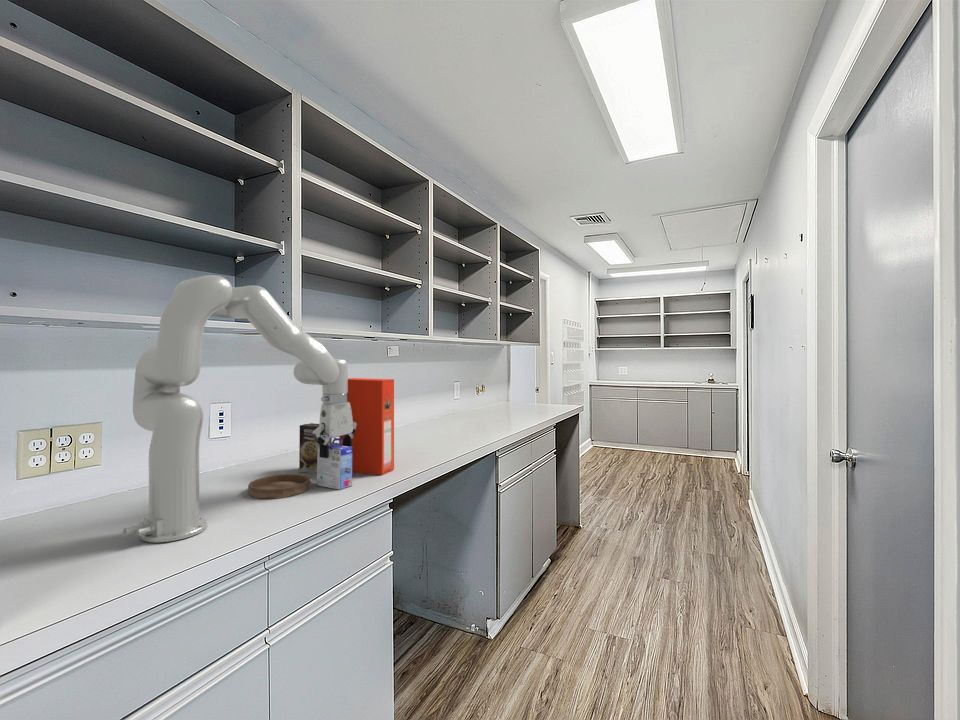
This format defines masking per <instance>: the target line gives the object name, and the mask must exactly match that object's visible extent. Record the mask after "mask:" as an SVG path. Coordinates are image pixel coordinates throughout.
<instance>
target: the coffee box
mask: <svg viewBox="0 0 960 720" xmlns="http://www.w3.org/2000/svg"><path fill="white" fill-rule="evenodd" d="M318 427H319V423H312V422H311V423H303V424H300V425H299V443H298V444H299V448H298V449H299V451H298V453H299V456H298V458H299V462H298V463H299V467H298V470H299V472H301V473H309V474H316V475H317V457H318V447H319V444H318V443H317V442H316V440H315V438H314V436H313V431H314V430H315V429H316V428H318ZM320 436H321V435H320ZM324 440H325V438H324ZM332 441H333V438H331V437H330V439H329V441H328V443H327V445H331V444H332Z"/></svg>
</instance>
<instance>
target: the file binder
mask: <svg viewBox="0 0 960 720" xmlns="http://www.w3.org/2000/svg"><path fill="white" fill-rule="evenodd" d="M348 402H350V405H351V410H352V418H353V422H355V423H357V426H356V429H355V433H354V434H353V438H351V439H352V473H359V474H366V475H374V476H375V475H376V476H384V475H386V474H388V473H390V472H393V471H394V470H395V379H394V378H393V379H391V378H365V377H364V378H362V377H361V378H360V377H359V378H357V377H349V378H348ZM338 438H340V439H343V438H345V437H344V436H339V437H338ZM338 442H339V443H340V441H338ZM341 446H343V440H342V443H341Z"/></svg>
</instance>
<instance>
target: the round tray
mask: <svg viewBox="0 0 960 720" xmlns="http://www.w3.org/2000/svg"><path fill="white" fill-rule="evenodd" d="M310 486H311V477H310V476H308V475H305V474H300V473H285V474H284V473H283V474H273V475H267V476H264V477H262V476H261V477H259V478H256V479H253V480H252V481H250V482H249V483H248V486H247V488H248V490H247V491H248V495H249V496H250V497H251V498H255V499H260V500H262V499H263V500H274V499H275V500H276V499H284V498H290V497H294V496H298V495H302V494H304V493H306V492H307V491H309V490H310V489H311V487H310Z"/></svg>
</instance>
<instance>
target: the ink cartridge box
mask: <svg viewBox="0 0 960 720" xmlns="http://www.w3.org/2000/svg"><path fill="white" fill-rule="evenodd" d="M342 440H343V439H340V438H339V437H335V438H332V444H331V445H329V457H328V458H321V457H320V449H319V447H318V457H317V474H316V486H318V487H324V488H329V489H336V490H343V489H345V488H349V487H350V488H351V487H352V486H353V483H352V482H353V472H352V447H349V446H341V443H342ZM337 441H338V442H339V441H340V443H338V442H337Z"/></svg>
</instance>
